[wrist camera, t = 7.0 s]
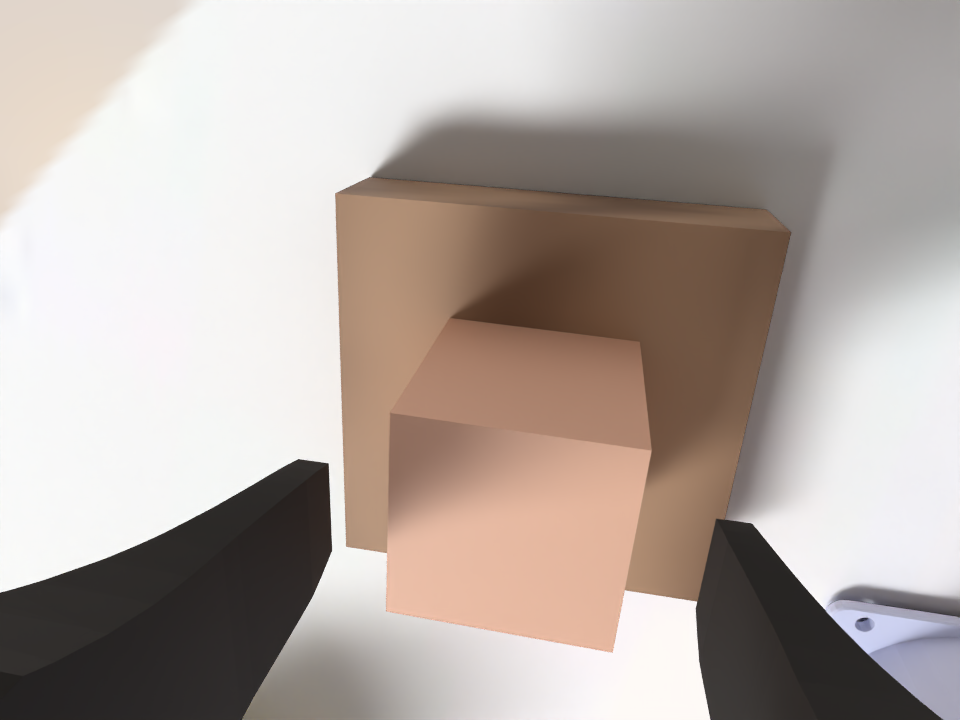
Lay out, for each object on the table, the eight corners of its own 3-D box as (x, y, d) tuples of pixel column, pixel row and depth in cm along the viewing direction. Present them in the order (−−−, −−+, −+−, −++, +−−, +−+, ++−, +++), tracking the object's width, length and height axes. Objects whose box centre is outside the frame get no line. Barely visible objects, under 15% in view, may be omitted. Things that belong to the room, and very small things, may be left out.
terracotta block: (640, 341, 16) (651, 450, 12) (611, 503, 18) (612, 652, 13) (449, 317, 17) (389, 412, 12) (440, 477, 19) (385, 611, 14)
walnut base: (766, 209, 17) (791, 232, 15) (695, 544, 21) (705, 602, 19) (369, 177, 18) (335, 193, 16) (373, 497, 22) (346, 546, 20)
